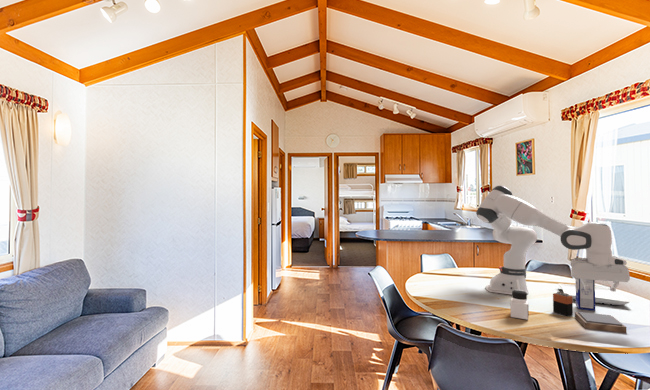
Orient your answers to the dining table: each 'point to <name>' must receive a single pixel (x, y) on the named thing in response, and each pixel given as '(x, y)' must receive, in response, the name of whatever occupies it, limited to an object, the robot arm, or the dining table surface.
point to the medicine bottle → (519, 304)
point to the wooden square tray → (600, 322)
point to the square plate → (598, 295)
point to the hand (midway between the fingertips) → (599, 290)
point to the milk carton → (585, 295)
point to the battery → (562, 304)
